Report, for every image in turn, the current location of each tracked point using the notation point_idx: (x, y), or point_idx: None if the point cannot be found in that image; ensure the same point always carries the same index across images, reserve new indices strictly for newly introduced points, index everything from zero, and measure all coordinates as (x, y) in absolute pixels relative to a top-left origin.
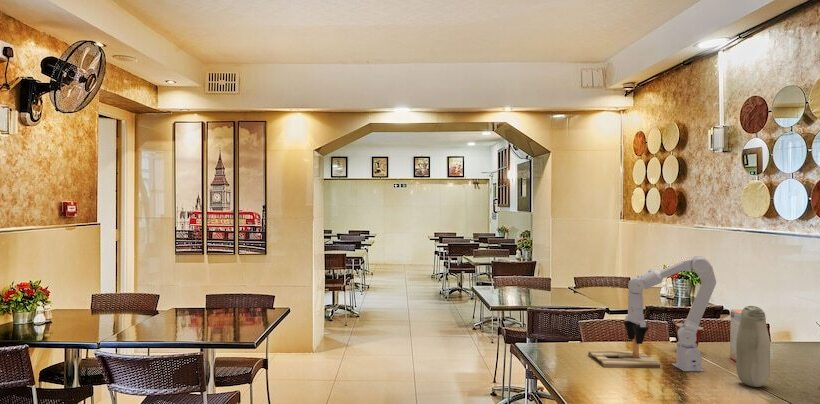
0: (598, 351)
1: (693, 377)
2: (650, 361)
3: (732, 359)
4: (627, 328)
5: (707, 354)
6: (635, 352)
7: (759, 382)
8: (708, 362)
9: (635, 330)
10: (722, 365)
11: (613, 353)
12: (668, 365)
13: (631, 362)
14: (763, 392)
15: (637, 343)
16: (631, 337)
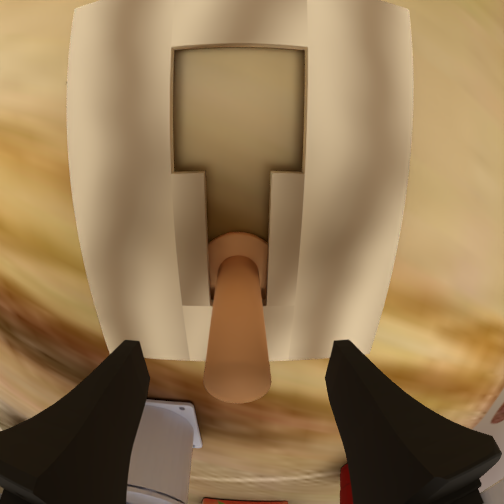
0: (394, 64)
1: (37, 375)
2: (127, 323)
3: (270, 502)
4: (386, 427)
5: (331, 484)
6: (216, 296)
7: None
8: (244, 476)
9: (17, 430)
10: (213, 483)
11: (337, 153)
12: (180, 388)
13: (73, 191)
14: (6, 421)
15: (122, 343)
16: (335, 373)
